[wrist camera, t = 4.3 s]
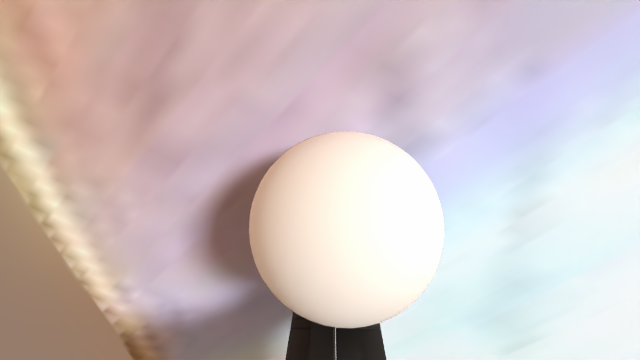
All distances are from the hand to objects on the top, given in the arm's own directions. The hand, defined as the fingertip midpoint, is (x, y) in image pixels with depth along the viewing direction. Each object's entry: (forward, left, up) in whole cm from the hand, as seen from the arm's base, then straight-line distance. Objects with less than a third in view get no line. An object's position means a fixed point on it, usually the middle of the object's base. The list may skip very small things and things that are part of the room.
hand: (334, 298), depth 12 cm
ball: (+2, -4, +1) cm, 4 cm away
